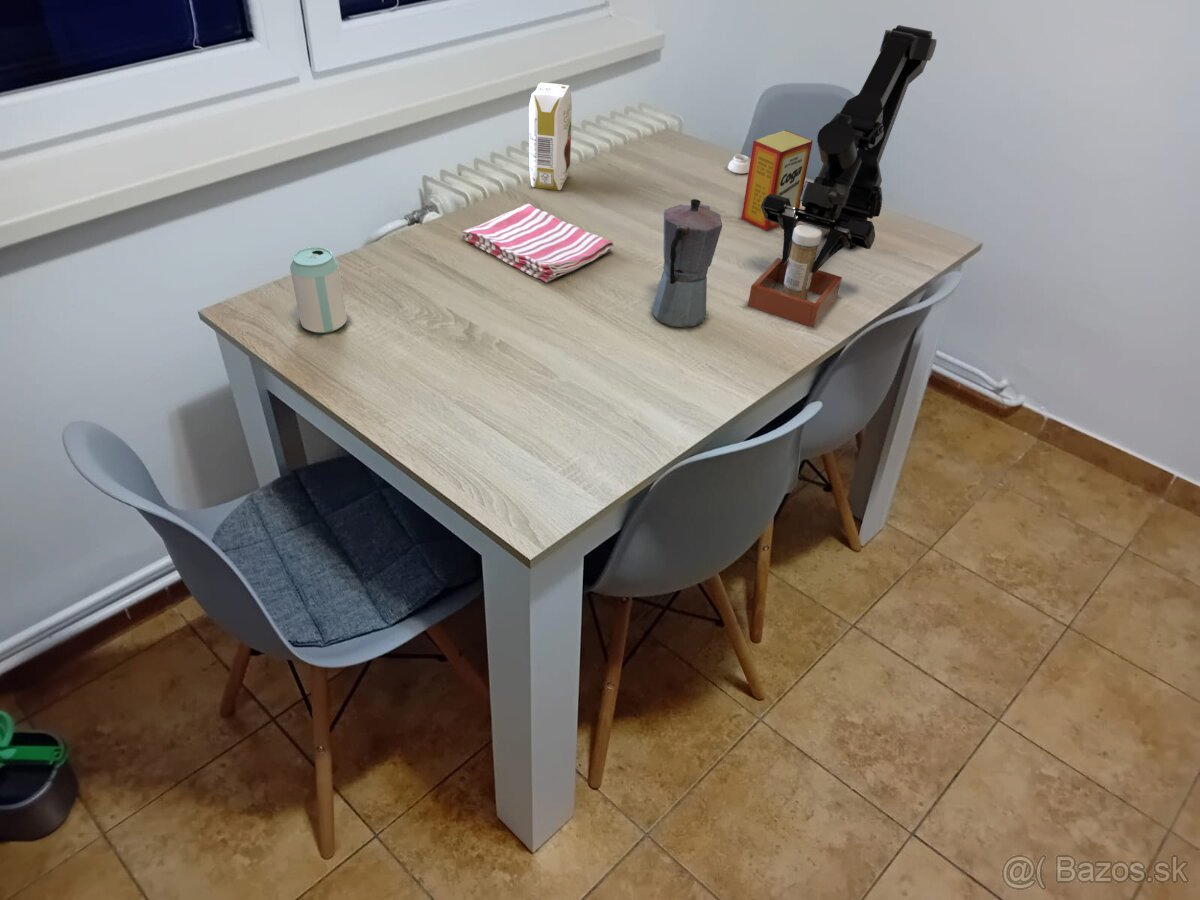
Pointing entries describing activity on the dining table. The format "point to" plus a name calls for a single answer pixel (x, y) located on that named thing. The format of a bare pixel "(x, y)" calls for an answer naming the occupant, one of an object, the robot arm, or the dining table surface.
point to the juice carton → (550, 135)
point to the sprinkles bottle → (801, 260)
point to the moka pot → (686, 263)
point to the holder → (789, 304)
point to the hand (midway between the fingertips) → (797, 268)
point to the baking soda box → (775, 173)
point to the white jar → (739, 164)
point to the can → (318, 290)
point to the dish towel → (537, 242)
